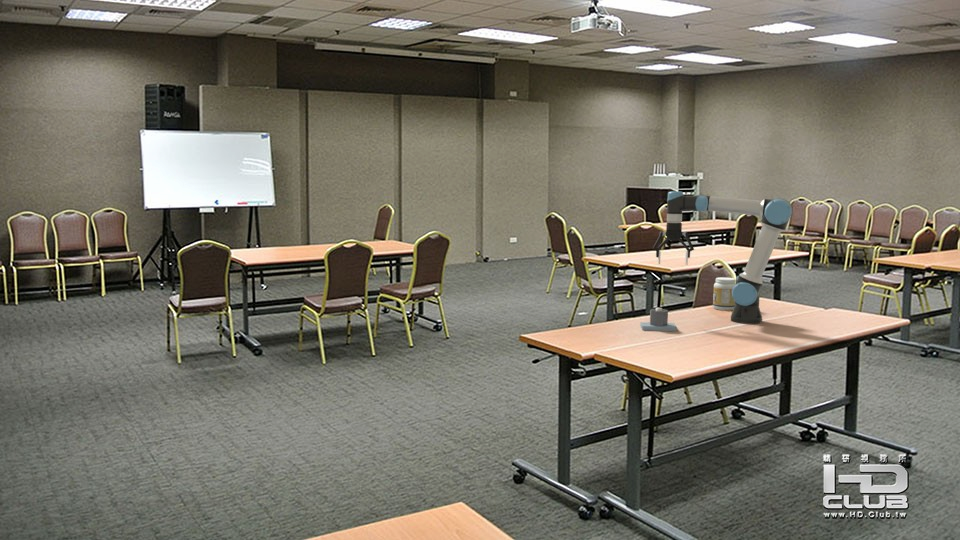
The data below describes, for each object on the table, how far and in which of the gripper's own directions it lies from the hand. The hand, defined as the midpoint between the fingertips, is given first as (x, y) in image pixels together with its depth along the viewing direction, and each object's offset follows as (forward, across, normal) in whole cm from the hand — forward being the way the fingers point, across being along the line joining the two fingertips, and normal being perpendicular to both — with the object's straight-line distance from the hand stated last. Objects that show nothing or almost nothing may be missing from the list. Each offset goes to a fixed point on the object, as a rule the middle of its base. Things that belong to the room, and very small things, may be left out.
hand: (672, 264), depth 403 cm
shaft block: (+29, +9, +24) cm, 38 cm away
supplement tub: (+29, -34, -38) cm, 59 cm away
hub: (+27, +9, +24) cm, 37 cm away
